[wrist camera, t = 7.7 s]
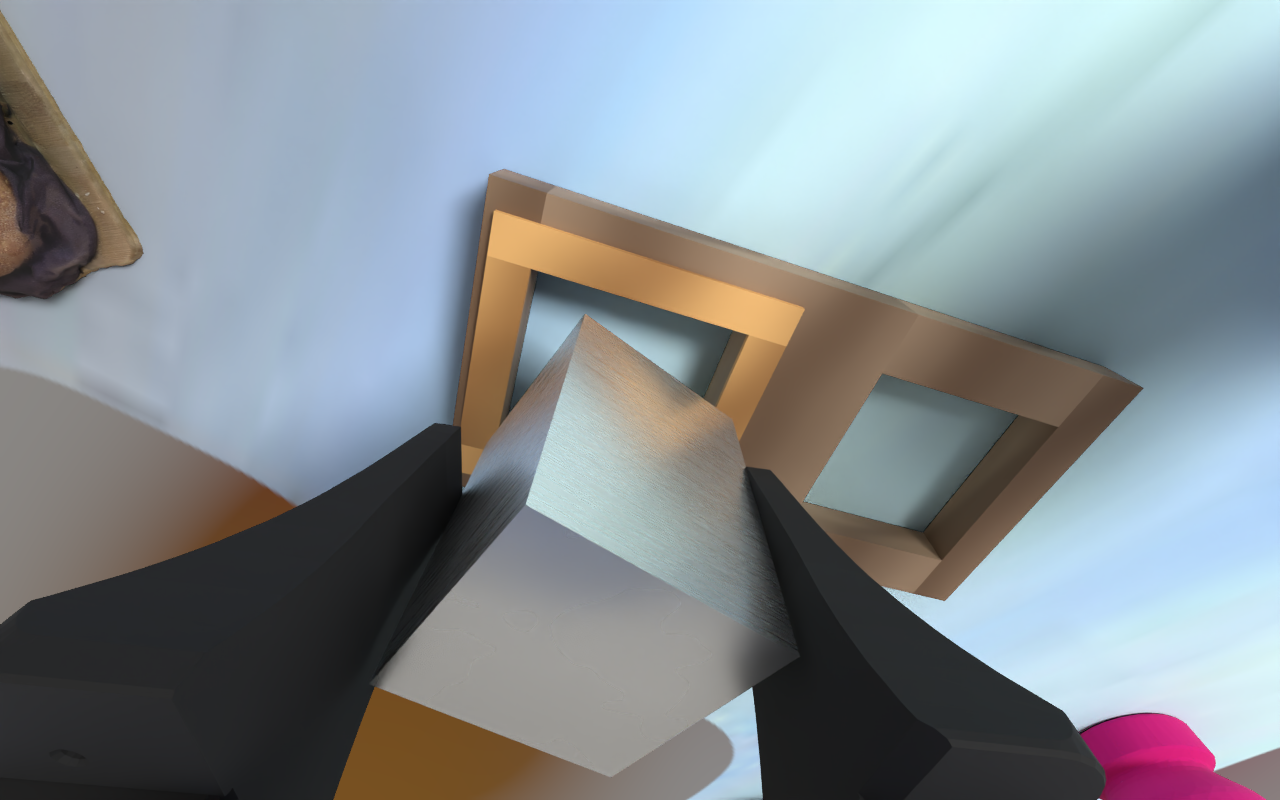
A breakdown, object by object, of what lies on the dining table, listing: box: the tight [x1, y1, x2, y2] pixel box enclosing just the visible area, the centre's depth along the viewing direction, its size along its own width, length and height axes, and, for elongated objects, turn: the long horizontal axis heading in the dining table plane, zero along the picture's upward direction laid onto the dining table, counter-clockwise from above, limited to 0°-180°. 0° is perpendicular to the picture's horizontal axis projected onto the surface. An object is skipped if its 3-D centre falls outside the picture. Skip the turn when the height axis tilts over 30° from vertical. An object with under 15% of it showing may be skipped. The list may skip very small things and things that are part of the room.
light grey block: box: [369, 314, 800, 777], centre depth 11 cm, size 5×5×7 cm
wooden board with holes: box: [453, 169, 1143, 601], centre depth 17 cm, size 20×10×2 cm, turn 73°
